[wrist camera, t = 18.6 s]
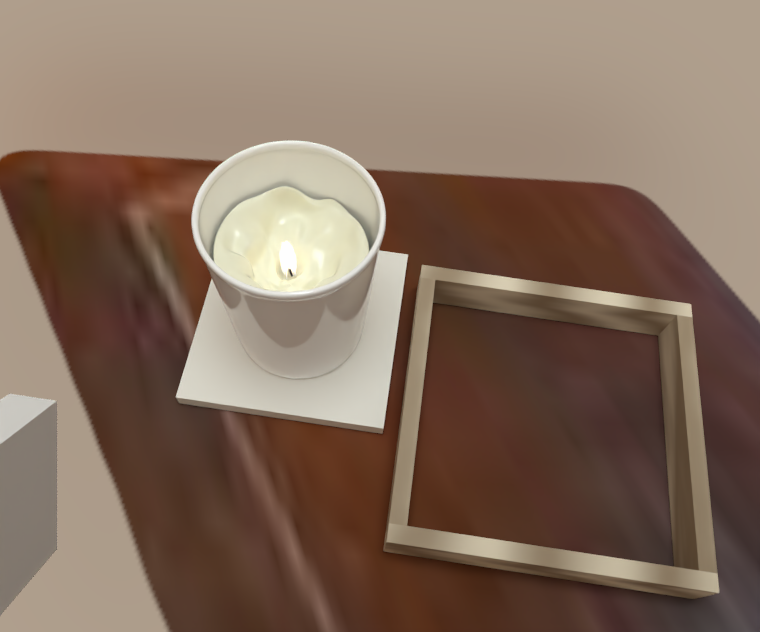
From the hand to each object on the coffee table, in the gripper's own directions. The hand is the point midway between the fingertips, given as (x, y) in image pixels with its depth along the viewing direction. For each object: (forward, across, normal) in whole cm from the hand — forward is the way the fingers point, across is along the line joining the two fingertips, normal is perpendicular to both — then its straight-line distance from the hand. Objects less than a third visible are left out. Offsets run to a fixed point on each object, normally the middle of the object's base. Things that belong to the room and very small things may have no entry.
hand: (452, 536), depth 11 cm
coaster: (+34, -8, -8) cm, 36 cm away
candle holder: (+33, -7, -8) cm, 35 cm away
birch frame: (+31, +9, -11) cm, 34 cm away
